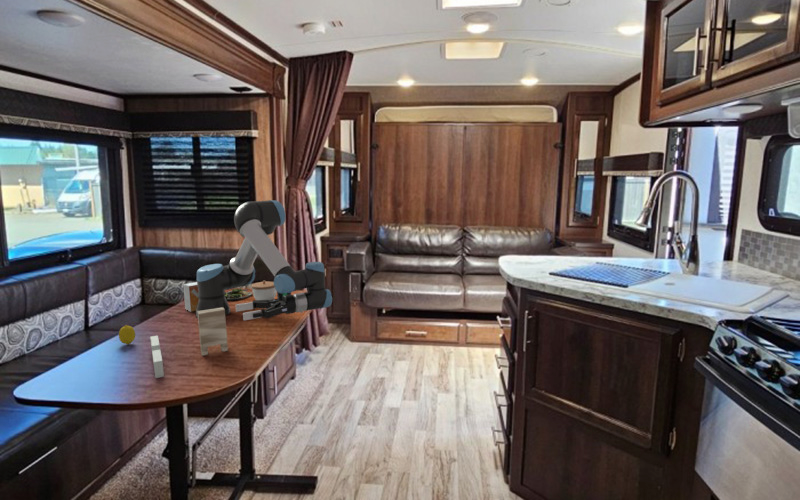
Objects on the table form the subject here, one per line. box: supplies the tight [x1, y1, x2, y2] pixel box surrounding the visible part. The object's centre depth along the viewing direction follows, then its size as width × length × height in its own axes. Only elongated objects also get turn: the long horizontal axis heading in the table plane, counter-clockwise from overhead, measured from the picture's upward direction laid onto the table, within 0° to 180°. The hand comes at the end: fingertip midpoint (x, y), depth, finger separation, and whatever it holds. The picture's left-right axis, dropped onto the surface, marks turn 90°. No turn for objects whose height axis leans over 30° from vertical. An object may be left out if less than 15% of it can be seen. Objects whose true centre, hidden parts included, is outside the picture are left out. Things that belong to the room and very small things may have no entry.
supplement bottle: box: [276, 292, 292, 301], centre depth 228 cm, size 7×7×12 cm
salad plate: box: [225, 287, 253, 302], centre depth 249 cm, size 19×18×5 cm
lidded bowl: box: [251, 280, 277, 300], centre depth 238 cm, size 13×13×11 cm
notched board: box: [149, 335, 165, 379], centre depth 161 cm, size 28×2×6 cm, turn 30°
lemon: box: [118, 324, 136, 346], centre depth 178 cm, size 6×6×8 cm
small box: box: [182, 281, 199, 313], centre depth 225 cm, size 8×6×13 cm
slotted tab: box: [197, 308, 229, 356], centre depth 169 cm, size 4×9×16 cm, turn 120°
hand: (239, 312), depth 173 cm, fingers open, 13 cm apart
